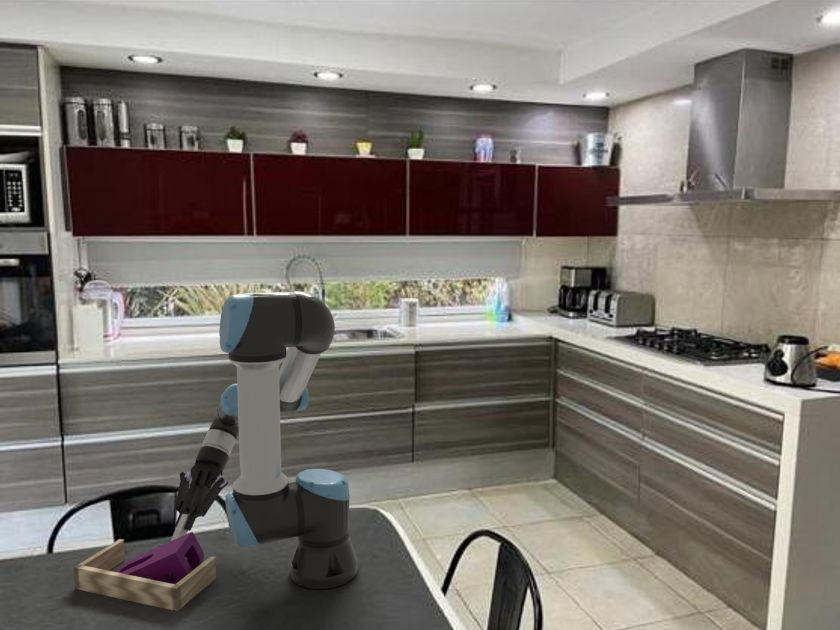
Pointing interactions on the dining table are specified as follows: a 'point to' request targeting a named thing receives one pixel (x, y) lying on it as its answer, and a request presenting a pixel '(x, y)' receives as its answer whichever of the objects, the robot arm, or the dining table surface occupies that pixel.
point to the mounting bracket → (167, 560)
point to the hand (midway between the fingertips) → (176, 542)
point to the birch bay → (139, 580)
